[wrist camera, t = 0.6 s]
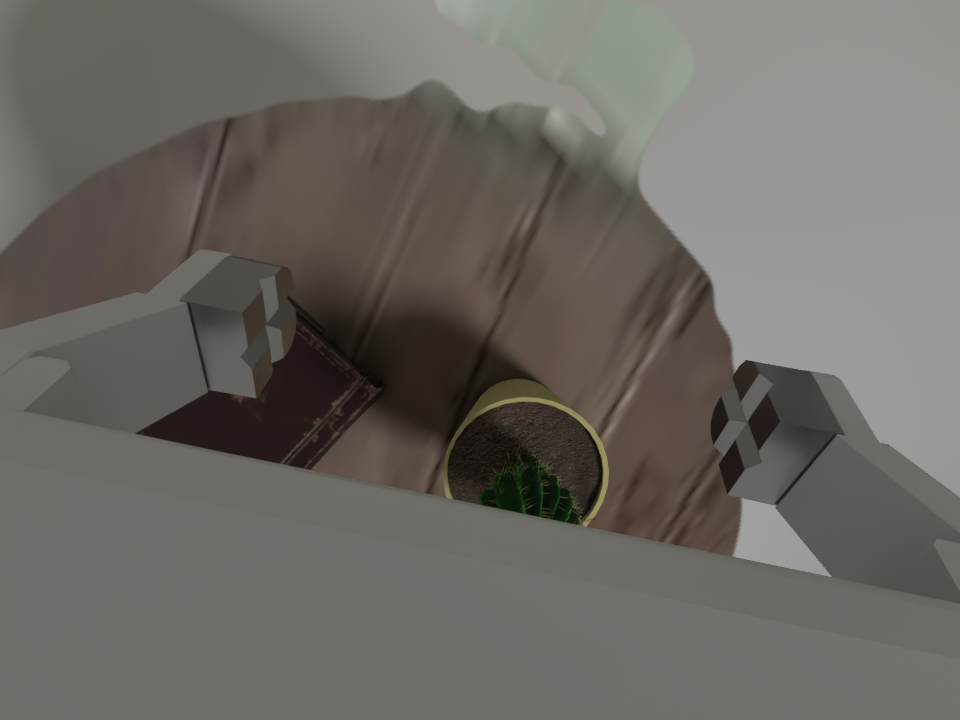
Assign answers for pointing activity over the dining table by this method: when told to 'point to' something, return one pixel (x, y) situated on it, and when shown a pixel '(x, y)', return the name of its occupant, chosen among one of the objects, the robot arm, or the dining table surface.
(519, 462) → the potted cactus
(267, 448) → the diary
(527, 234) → the dining table surface
